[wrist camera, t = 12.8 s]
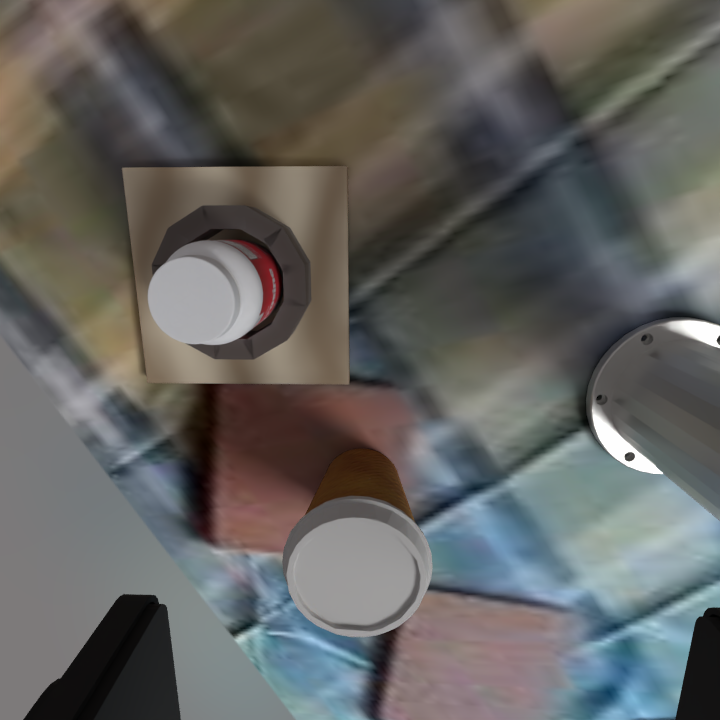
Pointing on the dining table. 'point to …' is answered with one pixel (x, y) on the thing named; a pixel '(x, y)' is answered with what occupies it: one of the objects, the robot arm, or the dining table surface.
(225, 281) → the pill bottle
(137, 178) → the socket board
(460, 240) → the dining table surface
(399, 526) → the disposable coffee cup
